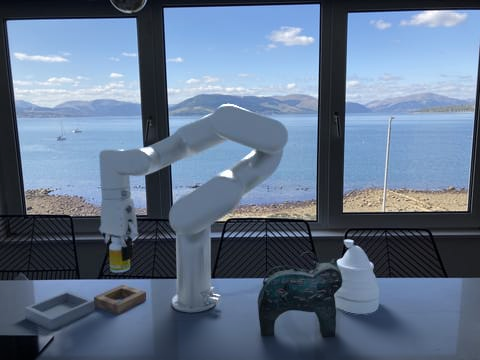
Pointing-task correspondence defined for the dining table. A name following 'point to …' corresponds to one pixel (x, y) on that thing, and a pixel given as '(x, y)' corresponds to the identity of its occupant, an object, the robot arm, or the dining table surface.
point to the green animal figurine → (300, 295)
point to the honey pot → (357, 282)
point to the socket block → (117, 307)
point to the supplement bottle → (117, 256)
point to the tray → (59, 310)
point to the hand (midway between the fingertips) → (119, 257)
